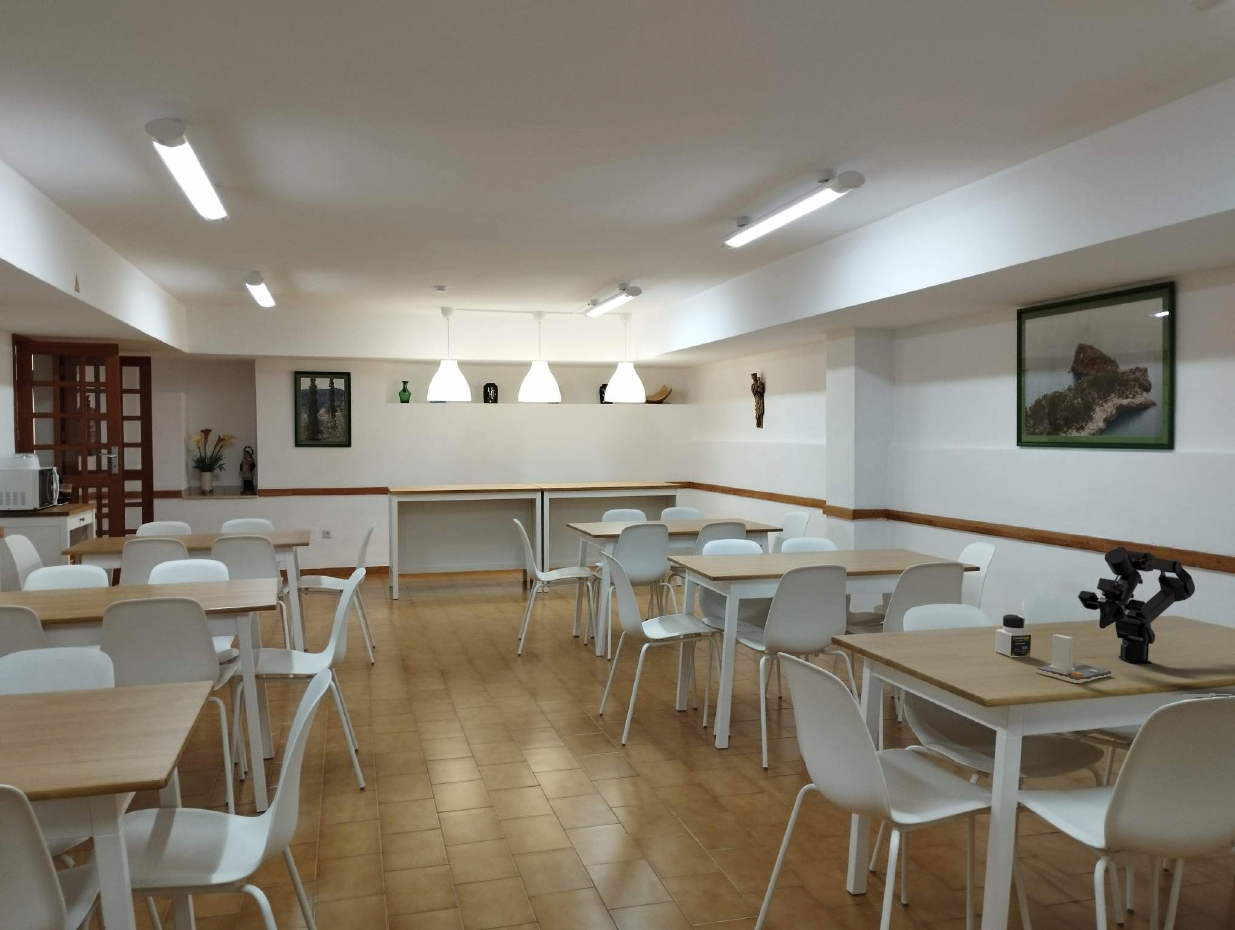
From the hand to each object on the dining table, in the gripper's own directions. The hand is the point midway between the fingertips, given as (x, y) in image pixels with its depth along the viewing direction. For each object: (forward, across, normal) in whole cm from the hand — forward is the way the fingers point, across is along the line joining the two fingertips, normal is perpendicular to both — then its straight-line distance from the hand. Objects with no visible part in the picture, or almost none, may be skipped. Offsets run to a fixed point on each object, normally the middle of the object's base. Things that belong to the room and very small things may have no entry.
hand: (1101, 627), depth 256 cm
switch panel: (+17, 0, -1) cm, 17 cm away
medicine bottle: (+14, -22, +3) cm, 27 cm away
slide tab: (+20, 0, -6) cm, 21 cm away
